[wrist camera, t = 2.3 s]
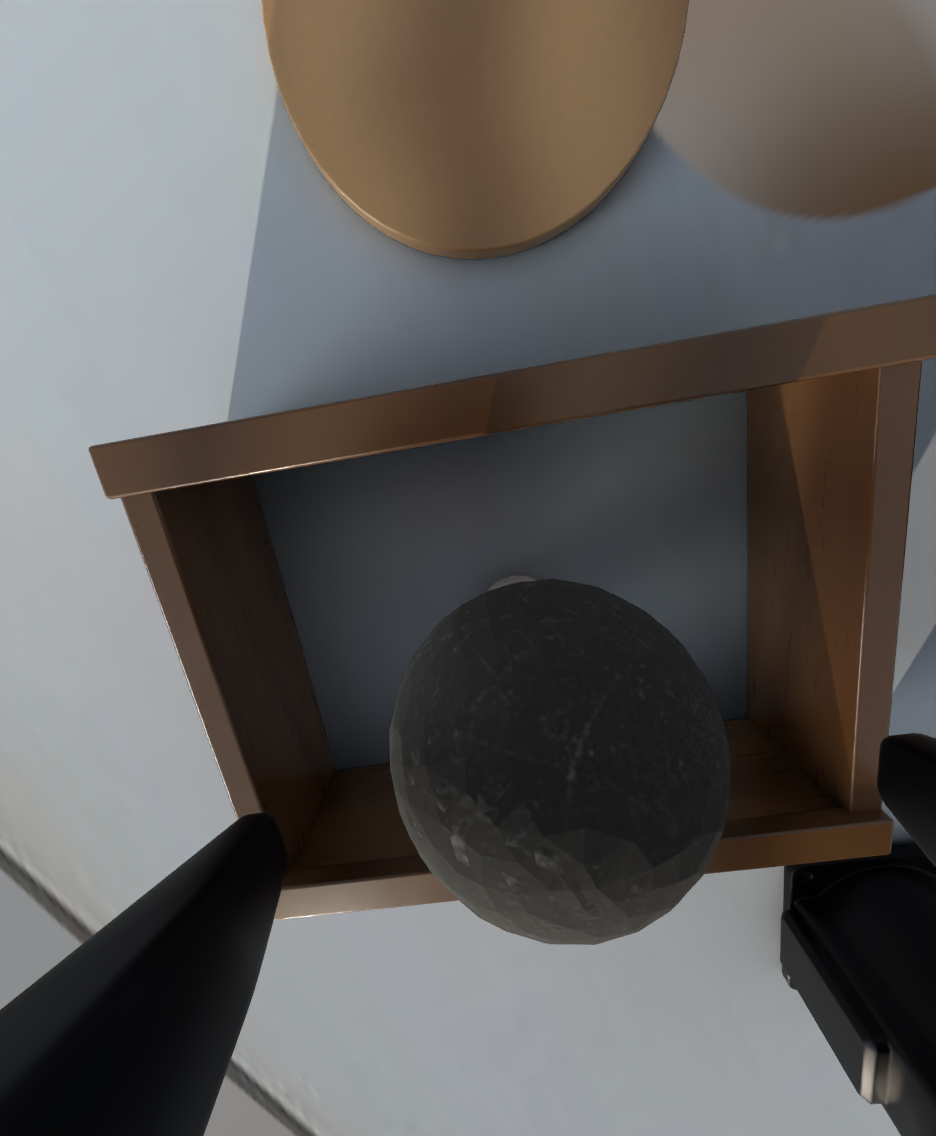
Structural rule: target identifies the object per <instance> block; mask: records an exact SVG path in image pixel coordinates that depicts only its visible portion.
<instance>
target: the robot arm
mask: <svg viewBox="0 0 936 1136" xmlns="http://www.w3.org/2000/svg"><path fill="white" fill-rule="evenodd" d="M877 787H878V791H879V793H880V796H881V798H882V800H883V801H884V803H885V804H886V806H887V807H888V808H889V810H890V811H891V812H892V813H893V815H894V816H895V817H896V818H897V820H898V821H899V822H900V823H901V825H902V826H903V827H904V828H905V830H906V831H907V832H908V833H909V835H910V836H911V837H912V838H913V840H914V841H915V842H916V843H917V844H908V845H899V846H891V853H890V854H889V855H880V856H870V857H861V858H852V859H842V860H833V861H823V862H814V863H805V864H795V865H786V866H785V867H784V902H783V914H782V917H781V951H780V961H781V963H782V973H783V976H784V977H785V979H786V981H787V983H788V984H789V986H790V987H791V988H792V989H795V990H798V992H799V994H800V996H801V997H802V999H803V1001H804V1002H805V1004H806V1006H807V1007H808V1009H809V1011H810V1013H811V1014H812V1016H813V1018H814V1019H815V1021H816V1023H817V1024H818V1026H819V1028H820V1030H821V1031H822V1033H823V1035H824V1036H825V1038H826V1040H827V1041H828V1043H829V1045H830V1046H831V1048H832V1050H833V1052H834V1053H835V1055H836V1057H837V1058H838V1060H839V1062H840V1063H841V1065H842V1067H843V1069H844V1070H845V1072H846V1074H847V1075H848V1077H849V1079H850V1080H851V1082H852V1084H853V1085H854V1087H855V1089H856V1091H857V1092H858V1094H859V1095H861V1096H862V1097H863V1098H864V1099H865V1100H866V1101H868V1102H869V1103H870V1104H882V1105H883V1107H884V1109H885V1110H886V1112H887V1114H888V1115H889V1117H890V1118H891V1120H892V1122H893V1123H894V1125H895V1127H896V1128H897V1130H898V1131H899V1133H900V1135H901V1136H936V739H935V738H932V737H929V736H926V735H923V734H917V733H910V734H902V735H894V736H888V737H886V738H884V739H883V741H882V742H881V744H880V752H879V765H878V777H877ZM287 863H288V858H287V852H286V849H285V846H284V843H283V840H282V837H281V834H280V831H279V828H278V825H277V822H276V819H275V817H274V816H273V815H272V814H271V813H268V812H263V813H255V814H248V815H245V816H242V817H241V818H240V819H238V820H237V821H236V822H235V823H233V824H232V825H231V826H230V827H228V828H227V829H226V830H225V831H223V832H222V833H221V834H220V835H218V836H217V837H216V838H215V839H213V840H212V841H211V842H210V843H208V844H207V845H206V846H205V847H203V848H202V849H201V850H200V851H198V852H197V853H196V854H195V855H193V856H192V857H191V858H190V859H188V860H187V861H186V862H185V863H183V864H182V865H181V866H180V867H178V868H177V869H176V870H175V871H173V872H172V873H171V874H170V875H168V876H167V877H166V878H165V879H163V880H162V881H161V882H160V883H158V884H157V885H156V886H155V887H153V888H152V889H151V890H150V891H148V892H147V893H146V894H145V895H143V896H142V897H141V898H140V899H138V900H137V901H136V902H135V903H133V904H132V905H131V906H130V907H128V908H127V909H126V910H125V911H123V912H122V913H121V914H120V915H118V916H117V917H116V918H115V919H113V920H112V921H111V922H110V923H108V924H107V925H106V926H105V927H103V928H102V929H101V930H100V931H98V932H97V933H96V934H95V935H93V936H92V937H91V938H90V939H88V940H87V941H86V942H85V943H83V944H82V945H81V946H80V947H78V948H77V949H76V950H75V951H73V952H72V953H71V954H70V955H68V956H67V957H66V958H65V959H63V960H62V961H61V962H60V963H59V964H58V965H56V966H55V967H53V968H52V969H51V970H50V971H49V972H47V973H46V974H45V975H43V976H42V977H41V978H40V979H38V980H37V981H36V982H35V983H33V984H32V985H31V986H30V987H28V988H27V989H26V990H25V991H23V992H22V993H21V994H20V995H18V996H17V997H16V998H15V999H13V1000H12V1001H11V1002H10V1003H8V1004H7V1005H6V1006H5V1007H4V1008H2V1009H1V1010H0V1136H203V1135H204V1133H205V1130H206V1127H207V1124H208V1121H209V1119H210V1115H211V1113H212V1110H213V1107H214V1104H215V1102H216V1099H217V1096H218V1093H219V1090H220V1088H221V1085H222V1082H223V1079H224V1076H225V1073H226V1071H227V1068H228V1065H229V1062H230V1059H231V1056H232V1054H233V1051H234V1048H235V1045H236V1042H237V1040H238V1037H239V1034H240V1031H241V1028H242V1025H243V1023H244V1020H245V1017H246V1014H247V1011H248V1008H249V1005H250V1002H251V999H252V996H253V993H254V990H255V986H256V983H257V979H258V976H259V973H260V969H261V965H262V962H263V958H264V954H265V950H266V947H267V943H268V939H269V935H270V932H271V928H272V924H273V920H274V917H275V913H276V909H277V905H278V902H279V898H280V894H281V890H282V886H283V883H284V879H285V875H286V871H287Z"/></svg>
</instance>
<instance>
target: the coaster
mask: <svg viewBox="0 0 936 1136" xmlns="http://www.w3.org/2000/svg"><path fill="white" fill-rule="evenodd" d="M688 3H689V0H262V5H263V20H264V26H265V32H266V38H267V44H268V50H269V55H270V59H271V63H272V66H273V70H274V74H275V77H276V81H277V85H278V88H279V91H280V93H281V96H282V98H283V101H284V103H285V106H286V109H287V111H288V114H289V116H290V119H291V121H292V123H293V124H294V126H295V128H296V130H297V132H298V134H299V136H300V138H301V140H302V142H303V144H304V146H305V147H306V149H307V151H308V153H309V154H310V156H311V158H312V159H313V161H314V162H315V164H316V165H317V167H318V168H319V170H320V171H321V173H322V174H323V176H324V177H325V179H326V180H327V182H328V183H329V184H330V185H331V186H332V187H333V189H334V190H335V191H336V192H337V193H338V194H339V196H340V197H341V198H342V199H343V200H344V201H345V203H346V204H348V205H349V206H350V207H351V208H352V209H353V210H354V211H355V212H356V213H357V214H359V215H360V216H361V217H362V218H363V219H364V220H365V221H367V222H368V223H370V224H371V225H372V226H374V227H375V228H377V229H378V230H380V231H381V232H382V233H384V234H385V235H387V236H389V237H391V238H393V239H395V240H397V241H399V242H401V243H403V244H405V245H407V246H409V247H412V248H415V249H418V250H421V251H423V252H426V253H429V254H433V255H439V256H444V257H450V258H455V259H485V258H493V257H502V256H506V255H510V254H513V253H517V252H521V251H524V250H527V249H530V248H532V247H534V246H537V245H539V244H541V243H544V242H546V241H548V240H550V239H552V238H553V237H555V236H557V235H558V234H560V233H562V232H563V231H565V230H567V229H568V228H570V227H572V226H573V225H574V224H575V223H577V222H578V221H579V220H580V219H582V218H583V217H584V216H585V215H586V214H588V213H589V212H590V211H591V210H593V209H594V208H595V207H596V206H597V205H598V204H599V202H600V201H601V200H602V199H603V198H604V197H605V196H606V195H607V194H608V193H609V192H610V191H611V190H612V189H613V188H614V186H615V185H616V184H617V182H618V181H619V180H620V178H621V177H622V176H623V175H624V173H625V172H626V171H627V169H628V168H629V167H630V165H631V163H632V162H633V160H634V158H635V157H636V155H637V153H638V152H639V150H640V148H641V147H642V145H643V143H644V142H645V140H646V138H647V136H648V135H649V133H650V131H651V129H652V127H653V125H654V123H655V121H656V118H657V116H658V114H659V112H660V110H661V108H662V105H663V103H664V101H665V99H666V96H667V93H668V90H669V87H670V84H671V82H672V78H673V76H674V73H675V69H676V67H677V63H678V59H679V54H680V50H681V45H682V42H683V37H684V33H685V27H686V19H687V11H688Z"/></svg>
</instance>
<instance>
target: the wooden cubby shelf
mask: <svg viewBox="0 0 936 1136" xmlns="http://www.w3.org/2000/svg"><path fill="white" fill-rule="evenodd" d="M935 357H936V294H934V295H928V296H922V297H917V298H911V299H906V300H900V301H895V302H889V303H884V304H878V305H872V306H867V307H861V308H856V309H850V310H845V311H839V312H834V313H828V314H822V315H817V316H811V317H806V318H800V319H795V320H789V321H784V322H778V323H772V324H767V325H761V326H756V327H750V328H745V329H739V330H734V331H728V332H722V333H717V334H711V335H706V336H700V337H695V338H689V339H684V340H678V341H672V342H667V343H661V344H656V345H650V346H645V347H639V348H634V349H628V350H622V351H617V352H611V353H606V354H600V355H595V356H589V357H584V358H578V359H572V360H567V361H561V362H556V363H550V364H545V365H539V366H534V367H528V368H522V369H517V370H511V371H506V372H500V373H495V374H489V375H484V376H478V377H472V378H467V379H461V380H456V381H450V382H445V383H439V384H434V385H428V386H422V387H417V388H411V389H406V390H400V391H395V392H389V393H383V394H378V395H372V396H367V397H361V398H356V399H350V400H345V401H339V402H333V403H328V404H322V405H317V406H311V407H306V408H300V409H295V410H289V411H283V412H278V413H272V414H267V415H261V416H256V417H250V418H245V419H239V420H233V421H228V422H222V423H217V424H211V425H206V426H200V427H195V428H189V429H183V430H178V431H172V432H167V433H161V434H156V435H150V436H145V437H139V438H133V439H128V440H122V441H117V442H111V443H106V444H100V445H95V446H91V447H89V452H90V455H91V457H92V460H93V463H94V466H95V468H96V471H97V474H98V476H99V479H100V482H101V485H102V487H103V490H104V493H105V495H106V497H107V498H109V499H116V498H121V500H122V502H123V505H124V508H125V511H126V514H127V516H128V519H129V522H130V525H131V527H132V530H133V533H134V536H135V538H136V541H137V544H138V547H139V549H140V552H141V555H142V558H143V561H144V563H145V566H146V569H147V572H148V574H149V577H150V580H151V583H152V585H153V588H154V591H155V594H156V596H157V599H158V602H159V605H160V608H161V610H162V613H163V616H164V619H165V621H166V624H167V627H168V630H169V632H170V635H171V638H172V641H173V643H174V646H175V649H176V652H177V655H178V657H179V660H180V663H181V666H182V668H183V671H184V674H185V677H186V679H187V682H188V685H189V688H190V690H191V693H192V696H193V699H194V702H195V704H196V707H197V710H198V713H199V715H200V718H201V721H202V724H203V726H204V729H205V732H206V735H207V737H208V740H209V743H210V746H211V749H212V751H213V754H214V757H215V760H216V762H217V765H218V768H219V771H220V773H221V776H222V779H223V782H224V784H225V787H226V790H227V793H228V796H229V798H230V801H231V804H232V807H233V809H234V812H235V815H236V818H237V820H238V819H240V818H241V817H242V816H245V815H248V814H255V813H263V812H268V813H271V814H272V815H273V816H274V817H275V819H276V822H277V825H278V828H279V831H280V834H281V837H282V840H283V843H284V846H285V849H286V852H287V858H288V863H287V871H286V875H285V879H284V883H283V886H282V890H281V894H280V898H279V902H278V905H277V909H276V913H275V917H274V920H279V919H288V918H298V917H307V916H317V915H326V914H335V913H345V912H354V911H363V910H373V909H382V908H392V907H401V906H410V905H420V904H429V903H439V902H448V901H457V900H458V899H457V898H456V897H455V896H454V895H452V894H451V893H450V892H449V891H448V890H447V889H446V888H445V887H444V886H443V885H442V884H441V882H440V881H439V880H438V879H437V878H436V877H435V876H434V875H433V874H432V872H431V871H430V870H429V868H428V867H427V865H426V863H425V862H424V861H423V860H422V858H421V857H420V855H419V853H418V851H417V849H416V847H415V845H414V843H413V841H412V840H411V838H410V836H409V833H408V831H407V829H406V827H405V824H404V822H403V820H402V818H401V815H400V812H399V808H398V804H397V799H396V795H395V790H394V786H393V780H392V775H391V769H390V764H383V765H375V766H367V767H359V768H352V769H344V770H336V771H335V766H334V762H333V759H332V755H331V752H330V748H329V745H328V741H327V738H326V734H325V731H324V727H323V724H322V720H321V716H320V713H319V709H318V706H317V702H316V699H315V695H314V692H313V688H312V685H311V681H310V678H309V674H308V670H307V667H306V663H305V660H304V656H303V653H302V649H301V646H300V642H299V639H298V635H297V632H296V628H295V625H294V621H293V617H292V614H291V610H290V607H289V603H288V600H287V596H286V593H285V589H284V586H283V582H282V579H281V575H280V572H279V568H278V564H277V561H276V557H275V554H274V550H273V547H272V543H271V540H270V536H269V533H268V529H267V526H266V522H265V518H264V515H263V511H262V508H261V504H260V501H259V497H258V494H257V490H256V487H255V483H254V480H253V476H252V475H258V474H264V473H270V472H276V471H282V470H287V469H293V468H299V467H305V466H311V465H317V464H322V463H328V462H334V461H340V460H346V459H352V458H357V457H363V456H369V455H375V454H381V453H387V452H392V451H398V450H404V449H410V448H416V447H422V446H427V445H433V444H439V443H445V442H451V441H457V440H462V439H468V438H474V437H480V436H486V435H492V434H497V433H503V432H509V431H515V430H521V429H527V428H532V427H538V426H544V425H550V424H556V423H562V422H567V421H573V420H579V419H585V418H591V417H596V416H602V415H608V414H614V413H620V412H626V411H631V410H637V409H643V408H649V407H655V406H661V405H666V404H672V403H678V402H684V401H690V400H696V399H701V398H707V397H713V396H719V395H725V394H731V393H736V392H742V391H747V478H748V717H749V718H745V719H737V720H729V721H723V723H724V728H725V733H726V738H727V743H728V748H729V753H730V758H731V762H730V789H729V808H728V813H727V817H726V822H725V827H724V831H723V834H722V836H721V838H720V840H719V842H718V845H717V847H716V849H715V851H714V853H713V856H712V858H711V860H710V863H709V865H708V867H707V868H706V870H705V873H704V874H711V873H720V872H730V871H739V870H748V869H758V868H767V867H776V866H786V865H795V864H805V863H814V862H823V861H833V860H842V859H852V858H861V857H870V856H880V855H889V854H890V853H891V846H892V836H893V826H894V821H893V820H892V818H890V817H889V816H888V815H887V814H886V813H885V812H884V811H883V810H882V802H883V800H882V798H881V796H880V793H879V791H878V787H877V777H878V765H879V752H880V744H881V742H882V741H883V739H884V738H886V737H888V735H889V724H890V713H891V702H892V691H893V680H894V668H895V657H896V646H897V635H898V624H899V613H900V601H901V590H902V579H903V568H904V557H905V546H906V534H907V523H908V512H909V501H910V490H911V479H912V468H913V456H914V445H915V434H916V423H917V412H918V401H919V389H920V378H921V367H922V360H927V359H932V358H935Z"/></svg>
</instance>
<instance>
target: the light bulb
mask: <svg viewBox="0 0 936 1136" xmlns="http://www.w3.org/2000/svg"><path fill="white" fill-rule="evenodd" d="M389 742H390V769H391V775H392V780H393V786H394V790H395V795H396V799H397V804H398V808H399V812H400V815H401V818H402V820H403V822H404V824H405V827H406V829H407V831H408V833H409V836H410V838H411V840H412V841H413V843H414V845H415V847H416V849H417V851H418V853H419V855H420V857H421V858H422V860H423V861H424V862H425V863H426V865H427V867H428V868H429V870H430V871H431V872H432V874H433V875H434V876H435V877H436V878H437V879H438V880H439V881H440V882H441V884H442V885H443V886H444V887H445V888H446V889H447V890H448V891H449V892H450V893H451V894H452V895H454V896H455V897H456V898H457V899H458V900H459V901H461V902H462V903H463V904H464V905H465V906H466V907H467V908H469V909H470V910H471V911H472V912H473V913H474V914H476V915H477V916H478V917H479V918H481V919H483V920H485V921H487V922H489V923H491V924H493V925H495V926H497V927H499V928H501V929H503V930H505V931H507V932H510V933H514V934H517V935H520V936H524V937H527V938H530V939H534V940H537V941H540V942H543V943H548V944H588V945H596V944H599V943H602V942H606V941H609V940H612V939H616V938H619V937H622V936H626V935H629V934H632V933H636V932H638V931H640V930H641V929H643V928H645V927H646V926H648V925H649V924H651V923H652V922H654V921H655V920H657V919H659V918H660V917H662V916H663V915H665V914H666V913H668V912H670V911H671V910H672V909H673V908H674V907H675V906H676V905H677V904H678V903H679V902H680V900H681V899H682V898H683V897H684V896H685V895H686V893H687V892H688V891H689V890H690V889H691V888H692V887H693V886H694V885H695V884H696V883H697V881H698V880H699V879H700V878H701V877H702V876H703V875H704V873H705V870H706V868H707V867H708V865H709V863H710V860H711V858H712V856H713V853H714V851H715V849H716V847H717V845H718V842H719V840H720V838H721V836H722V834H723V831H724V827H725V822H726V817H727V813H728V808H729V789H730V762H731V758H730V753H729V748H728V743H727V738H726V733H725V728H724V723H723V718H722V716H721V713H720V711H719V708H718V706H717V703H716V700H715V698H714V696H713V693H712V691H711V689H710V687H709V685H708V683H707V681H706V679H705V677H704V675H703V673H702V672H701V670H700V669H699V668H698V667H697V665H696V664H695V662H694V661H693V659H692V658H691V656H690V655H689V653H688V652H687V650H686V649H685V647H684V646H683V645H682V644H681V643H680V642H679V641H678V640H677V639H676V638H675V637H674V635H673V634H672V633H671V632H670V631H669V630H668V629H667V628H665V627H664V626H663V625H662V624H660V623H659V622H658V621H657V620H655V619H654V618H653V617H652V616H650V615H649V614H648V613H647V612H645V611H644V610H642V609H641V608H639V607H637V606H635V605H633V604H632V603H630V602H628V601H626V600H624V599H622V598H620V597H619V596H617V595H614V594H611V593H609V592H607V591H605V590H603V589H601V588H599V587H595V586H591V585H585V584H579V583H574V582H568V581H562V580H555V579H548V580H536V579H534V578H531V577H528V576H517V575H513V576H510V577H506V578H503V579H501V580H499V581H497V582H496V583H494V584H493V585H492V586H491V587H490V588H489V589H488V590H487V592H485V593H484V594H481V595H479V596H478V597H476V598H474V599H472V600H470V601H468V602H466V603H465V604H463V605H461V606H460V607H459V608H458V609H456V610H455V611H454V612H453V613H452V614H450V615H449V616H447V617H446V618H444V619H443V621H442V622H441V623H439V624H438V625H437V626H436V627H435V628H434V629H433V631H432V632H431V633H430V635H429V636H428V638H427V639H426V640H425V642H424V643H423V644H422V646H421V647H420V649H419V650H418V651H417V653H416V654H415V656H414V658H413V660H412V661H411V663H410V665H409V667H408V669H407V671H406V673H405V675H404V677H403V679H402V681H401V685H400V689H399V692H398V696H397V700H396V703H395V707H394V712H393V717H392V722H391V727H390V731H389Z"/></svg>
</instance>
